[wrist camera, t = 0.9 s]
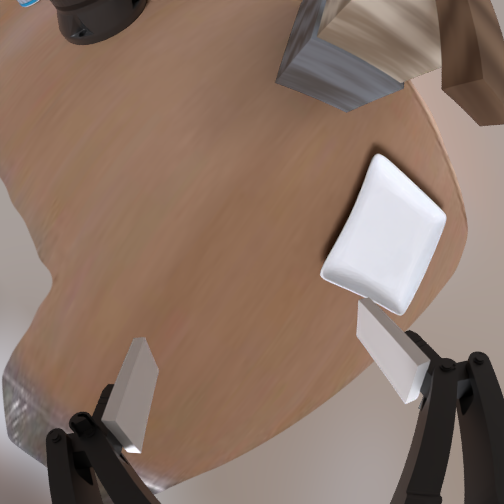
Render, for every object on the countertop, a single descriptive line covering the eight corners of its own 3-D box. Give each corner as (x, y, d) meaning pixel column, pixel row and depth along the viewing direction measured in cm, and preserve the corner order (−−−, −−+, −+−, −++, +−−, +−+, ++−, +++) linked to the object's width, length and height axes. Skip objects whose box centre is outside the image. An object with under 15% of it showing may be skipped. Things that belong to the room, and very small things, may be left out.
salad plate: (437, 213, 45) (449, 216, 41) (393, 311, 47) (404, 318, 44) (365, 151, 39) (377, 149, 36) (308, 270, 41) (317, 277, 38)
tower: (346, 112, 37) (498, 59, 10) (274, 82, 34) (387, -39, 7) (361, 31, 34) (465, -37, 7) (301, 3, 31) (381, -96, 4)
